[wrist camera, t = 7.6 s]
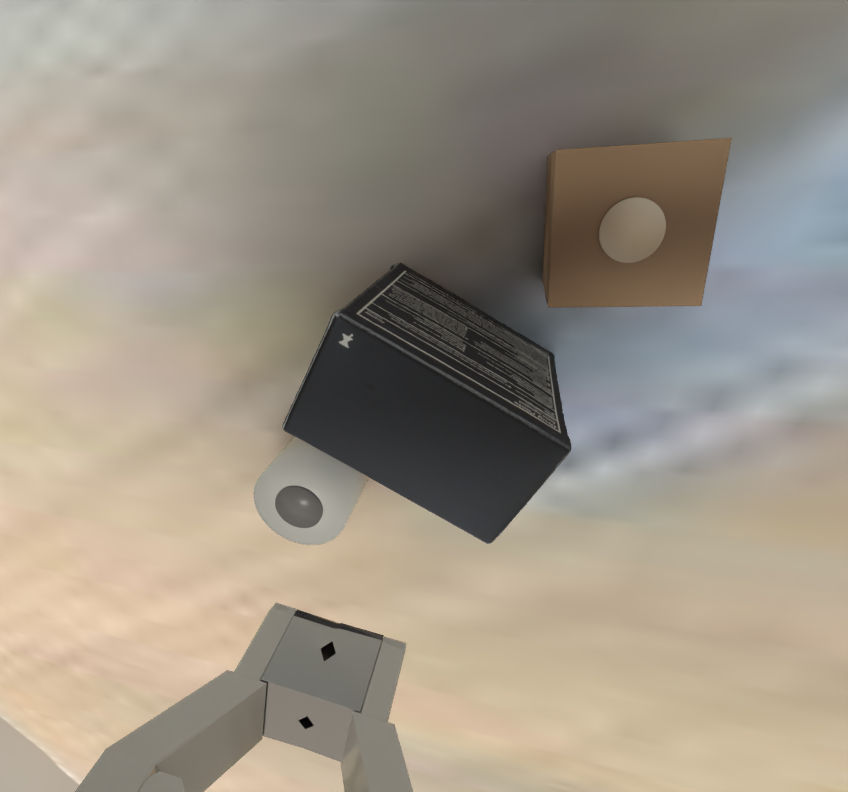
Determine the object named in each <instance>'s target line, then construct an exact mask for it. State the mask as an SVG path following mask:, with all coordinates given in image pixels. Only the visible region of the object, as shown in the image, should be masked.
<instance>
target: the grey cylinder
mask: <svg viewBox="0 0 848 792" xmlns="http://www.w3.org/2000/svg"><path fill="white" fill-rule="evenodd" d="M368 479H369V477H367V476H366V475H364V474H362V473H360V472H358V471H357V470H355V469H353V468H351V467H349V466H348V465H346V464H344V463H342V462H340V461H339V460H337V459H335V458H333V457H331V456H329V455H328V454H326V453H324V452H322V451H320V450H318V449H317V448H315V447H313V446H311V445H310V444H308V443H306V442H304V441H302V440H301V439H299V438H297V437H294V438H293V439H292V440H291V441H290V442H289V444H288V445H287V446H286V447H285V448H284V449H283V450H282V452H281V453H280V454H279V455H278V456H277V457H276V458H275V460H274V461H273V462H272V463H271V464H270V465H269V466H268V468H267V469H266V470H265V471H264V472H263V473H262V474H261V476H260V477H259V478H258V480H257V482H256V484H255V488H254V502H255V506H256V509H257V511H258V513H259V515H260V516H261V518H262V519H263V521H264V522H265V523H266V524H267V525H268V526H269V527H270V528H271V529H272V530H273V531H274V532H276V533H277V534H278V535H280V536H282V537H283V538H285V539H287V540H290V541H292V542H295V543H299V544H305V545H319V544H323V543H326V542H329V541H331V540H333V539H334V538H336V537H337V536H338V535H339V534H340V533H341V531H342V530H343V528H344V526H345V524H346V522H347V520H348V518H349V516H350V514H351V512H352V510H353V508H354V506H355V504H356V502H357V500H358V498H359V497H360V495H361V493H362V491H363V489H364V487H365V485H366V483H367V481H368Z"/></svg>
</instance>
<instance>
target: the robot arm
mask: <svg viewBox="0 0 848 792" xmlns="http://www.w3.org/2000/svg"><path fill="white" fill-rule="evenodd" d="M383 636H384V635H380V634H377V633H373V632H370V631H367V630H363V629H360V628H356V627H353V626H349V625H346V624H342V623H337V622H334V621H331V620H328V619H325V618H322V617H319V616H315V615H312V614H309V613H306V612H303V611H300V610H298V609H295V608H292V607H288V606H285V605H282V604H279V603H275V604H274V606H273V607H272V608H271V609H270V610H269V612H268V614H267V616H266V617H265V619H264V621H263V622H262V624H261V626H260V628H259V629H258V631H257V633H256V635H255V636H254V638H253V640H252V642H251V643H250V645H249V647H248V649H247V650H246V652H245V654H244V656H243V657H242V659H241V661H240V662H239V664H238V666H237V668H236V669H235V671H234V672H232V671H228V670H227V671H225V672H224V673H222V674H221V675H219V676H218V677H216V678H215V679H213V680H211V681H210V682H208V683H207V684H205V685H204V686H202V687H201V688H199V689H198V690H196V691H195V692H193V693H191V694H190V695H188V696H187V697H185V698H184V699H182V700H181V701H179V702H178V703H176V704H175V705H173V706H171V707H170V708H168V709H167V710H165V711H164V712H162V713H161V714H159V715H158V716H156V717H154V718H153V719H151V720H150V721H148V722H147V723H145V724H144V725H142V726H141V727H139V728H138V729H136V730H134V731H133V732H131V733H130V734H128V735H127V736H125V737H124V738H122V739H121V740H119V741H118V742H116V743H114V744H113V745H111V746H110V747H108V748H107V749H106V750H105V751H104V752H103V754H102V755H101V756H100V758H99V759H98V761H97V762H96V763H95V765H94V766H93V768H92V769H91V770H90V772H89V773H88V774H87V776H86V777H85V779H84V780H83V781H82V783H81V784H80V786H79V787H78V788H77V790H76V791H75V792H204V791H205V790H206V789H207V788H208V787H209V786H210V785H212V784H213V783H214V782H215V781H216V780H217V779H218V778H219V777H220V776H222V775H223V774H224V773H225V772H226V771H227V770H228V769H229V768H230V767H232V766H233V765H234V764H235V763H236V762H237V761H238V760H239V759H240V758H242V757H243V756H244V755H245V754H246V753H247V752H248V751H249V750H251V749H252V748H253V747H254V746H255V745H256V744H257V743H258V742H259V741H261V740H262V736H265V737H268V738H271V739H275V740H278V741H282V742H285V743H288V744H292V745H295V746H298V747H302V748H304V749H307V750H310V751H313V752H315V753H318V754H321V755H323V756H326V757H329V758H332V759H334V760H337V761H340V762H341V770H342V776H343V783H344V790H345V792H413V789H412V786H411V782H410V778H409V775H408V771H407V768H406V764H405V760H404V757H403V753H402V750H401V746H400V742H399V739H398V735H397V732H396V728H395V725H394V724H392V723H389V722H388V719H389V715H390V711H391V707H392V702H393V698H394V694H395V690H396V686H397V682H398V678H399V674H400V670H401V666H402V662H403V658H404V654H405V649H406V643H405V642H401V641H398V640H394V639H391V638H387V637H384V638H383Z"/></svg>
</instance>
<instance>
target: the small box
mask: <svg viewBox="0 0 848 792" xmlns="http://www.w3.org/2000/svg"><path fill="white" fill-rule="evenodd" d="M554 359H555V358H554V355H553V354H552V353H550V352H548V351H547V350H545V349H543V348H542V347H540V346H539V345H537V344H535V343H534V342H532V341H530V340H529V339H527V338H525V337H524V336H522V335H520V334H519V333H517V332H515V331H514V330H512V329H510V328H509V327H507V326H506V325H505V324H502V323H500V322H499V321H497V320H495V319H494V318H492V317H490V316H489V315H487V314H485V313H483V312H482V311H480V310H479V309H477V308H475V307H474V306H472V305H470V304H468V303H467V302H465V301H464V300H463V299H461V298H459V297H457V296H455V295H454V294H452V293H450V292H448V291H447V290H445V289H443V288H442V287H440V286H439V285H437V284H435V283H433V282H432V281H430V280H428V279H426V278H425V277H423V276H421V275H420V274H418V273H416V272H414V271H413V270H411V269H409V268H407V267H406V266H404V265H403V264H401V263H399V264H396V265H393V266H392V267H391V270H390V271H389V272H388V273H387V274H385V275H384V276H383V277H381V278H380V279H379V280H377V281H376V282H375V283H374V284H373V285H371V286H370V287H369V288H368V289H367V290H365V291H364V292H363V293H362V294H360V295H359V296H358V297H357V298H355V299H354V300H353V301H352V302H351V303H349V304H348V305H347V306H346V307H344V308H343V309H341V310H338V311H336V312H335V313H334V314H333V315H332V317H331V320H330V322H329V325H328V327H327V329H326V331H325V334H324V336H323V338H322V340H321V342H320V344H319V347H318V349H317V351H316V353H315V355H314V357H313V359H312V362H311V364H310V367H309V369H308V371H307V373H306V376H305V378H304V380H303V381H302V384H301V386H300V388H299V391H298V392H297V394H296V397H295V400H294V402H293V404H292V406H291V408H290V410H289V413H288V415H287V416H286V418H285V421H284V423H283V430H284V431H286V432H288V433H290V434H292V435H293V436H295V437H297V438H299V439H301V440H302V441H304V442H306V443H308V444H310V445H311V446H313V447H315V448H317V449H318V450H320V451H322V452H324V453H326V454H328V455H329V456H331V457H333V458H335V459H337V460H339V461H340V462H342V463H344V464H346V465H348V466H349V467H351V468H353V469H355V470H357V471H358V472H360V473H362V474H364V475H366V476H367V477H369V478H371V479H373V480H375V481H376V482H378V483H380V484H382V485H384V486H385V487H387V488H389V489H391V490H393V491H394V492H396V493H398V494H400V495H401V496H403V497H405V498H407V499H409V500H410V501H412V502H414V503H416V504H418V505H419V506H421V507H423V508H425V509H427V510H428V511H430V512H432V513H434V514H436V515H437V516H439V517H441V518H443V519H444V520H446V521H448V522H450V523H452V524H453V525H455V526H457V527H459V528H460V529H462V530H464V531H466V532H467V533H469V534H471V535H473V536H474V537H476V538H478V539H480V540H482V541H483V542H485V543H487V544H490V543H492V542H493V541H494V540H495V539H496V538H497V537H498V536H499V535H500V534H501V533H502V531H503V530H504V529H505V528H506V527H507V526H508V524H509V523H510V522H511V521H512V520H513V518H514V517H515V516H516V515H517V514H518V513H519V512H520V510H521V509H522V508H523V507H524V506H525V505H526V504H527V502H528V501H529V500H530V499H531V498H532V496H533V495H534V494H535V493H536V492H537V490H538V489H539V488H540V487H541V486H542V485H543V484H544V482H545V481H546V480H547V479H548V478H549V476H550V475H551V474H552V473H553V472H554V471H555V469H556V468H557V467H558V466H559V464H560V463H561V462H562V461H563V460H564V459H565V457H566V456H567V455H568V454H569V452H570V451H571V443H570V439H569V436H568V435H567V429H566V426H565V421H564V415H563V413H562V411H563V410H562V403H561V398H560V392H559V386H558V381H557V374H556V369H555V361H554Z"/></svg>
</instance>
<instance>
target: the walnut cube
mask: <svg viewBox="0 0 848 792" xmlns="http://www.w3.org/2000/svg"><path fill="white" fill-rule="evenodd" d="M731 139H732V138H722V139H708V140H693V141H679V142H664V143H649V144H635V145H620V146H605V147H591V148H576V149H562V150H555V151H554V152H553V153H551V154H550V155H549V156H548V165H547V187H546V209H545V232H544V254H543V276H542V282H543V286H544V291H545V296H546V300H547V305H548V307H636V306H701V304H702V299H703V293H704V288H705V282H706V277H707V271H708V266H709V260H710V255H711V249H712V244H713V238H714V233H715V227H716V221H717V216H718V210H719V205H720V199H721V194H722V188H723V183H724V177H725V172H726V166H727V161H728V155H729V150H730V144H731Z"/></svg>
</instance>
